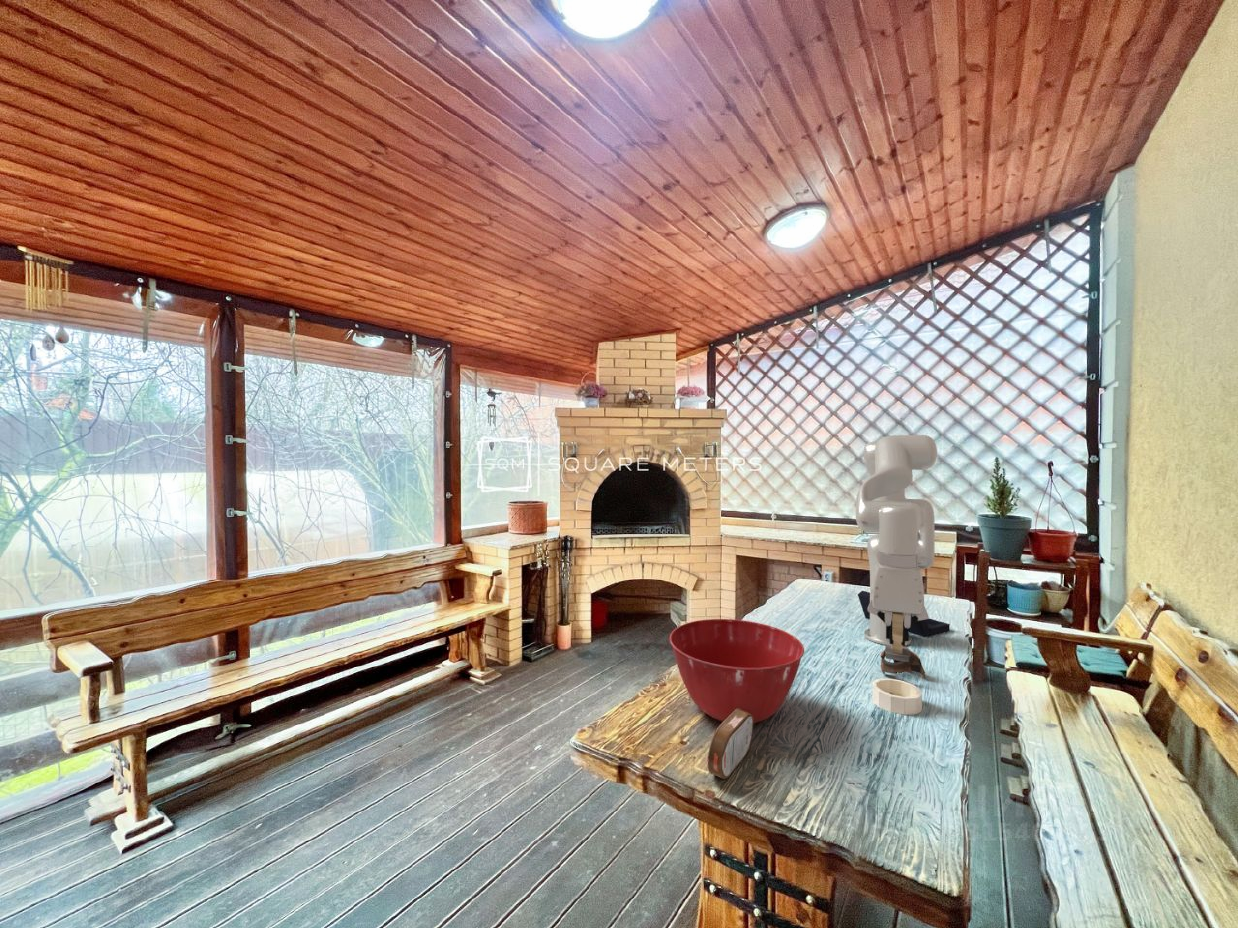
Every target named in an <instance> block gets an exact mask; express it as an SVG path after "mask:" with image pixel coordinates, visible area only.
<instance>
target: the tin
mask: <svg viewBox="0 0 1238 928" xmlns="http://www.w3.org/2000/svg"><path fill="white" fill-rule="evenodd" d="M753 721H754V719H753V716H752V714H750V713H748V712H746V711H743V710H741V709H739V708H738V709H736V710H735V711H734V712H733V713H732V714H731V715H730V716H729V717H728V718H727V719H726V720H725V721H724V722H721V724H719V726H718V727H717V728H716V731H715V732H714V734H713V736H712V738H711V741H710V745H709V748H708V749H709V750H708V754H707V771H708V773H709V774H710V775H714V776H716V777H719V778H720V779H724V780H726V779H728V778H729V777H730V776H731V775H732V773H734V771H735V770H736V769H737V767H739V765H740V764H741V763H742V761H743V760H744V759H745V758H746V756H747V755H748V753H749V750H750V747H751V745H752V741H753V731H754V724H753Z"/></svg>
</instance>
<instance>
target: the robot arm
mask: <svg viewBox="0 0 1238 928" xmlns="http://www.w3.org/2000/svg"><path fill="white" fill-rule="evenodd" d="M862 451H863V460H864V464H865V467H866V468H867V471H868V474H869V476H870V477H868V478H867V479H866V480H865V481H864V482H863V483H862V484H861V485H860V486H859V488H858V491H857V493H856V497H855V520H856V521H855V522H856V524H857V526H858V528H859V529H860V530H862V531H863V532H866V533H867V532H869V533H878V534H874V535H872V536H870V537H869V538H868V541H867V546H866V548H867V556H868V563H869V592H870V604H869V606H868V612H870V619H869V628H868V629H865V630H864V632H863V635H864V637H865V638H866V640H869V641H871V642H873V643H876V644H880V645H883V646H885V644H887V645H891V644H894V640H893V636H892V612H895V613H903V641H902V642H901V645H902V646H905V647H907V646H908V645H911V643H912V637H910V635H909V633H910V632H909V628H910V626H911V625H913V624H914V623H915V622H917V621H919V620H925V619H928V618H930V617H929V614H928V612H927V608H926V606H925V592H924V591H925V589H924V588H925V587H924V583H923V573H922V570H927V569H930V568H931V567H933V565H934V563H935V554H936V553H935V552H936V551H935V548H936V547H935V543H936V542H935V541H936V540H935V529H936V528H935V525H936V524H935V522H936V521H935V511H934V507H933V505H932V503H931V502H930V501H928V500H926V499H923V498H922V499H921V498H906V495H905V493H906V492H905V491H906V489H907V488H909V486H911V484H912V482H913V478H914V475H913V471H914V470H916V471H918V470H919V471H921V470H923V471H924V470H928V469H930V468H932V467H933V466H934V465H935V464H936V462H937V459H938V458H937V457H938V448H937V444H936V442H935V440H934V439H933V437H931V436H930V435H927V434H893V435H891V434H890V435H886V436H883V437H881V438H880V439H878V440H874V441H870V442H868V443H866V444H865V445H864V447H863V450H862ZM911 614H913V615H911Z"/></svg>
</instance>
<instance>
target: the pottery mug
mask: <svg viewBox="0 0 1238 928" xmlns="http://www.w3.org/2000/svg"><path fill="white" fill-rule="evenodd" d="M903 647H906V646H903ZM908 655H909V662H905V661H899V660H892V662H890V661H887V659H886V652H885V649H884V650H883V651H882V652H881V654H880V658H881V660H880V669H881V672H882V674H883V675H885V674H886V673H889V674H895V675H897V674H902V673H906V672H908V673H910V674H912V673H913V672H916V673H919V674H920V675H921V676H922V678H923V680H926V672H925V671H926V670H925V669H924V667H923V665H922V661H921V658H920V657H919V656H918V655H917V654H916V653H915V652H914V651H911V649H910V648H908Z"/></svg>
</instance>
